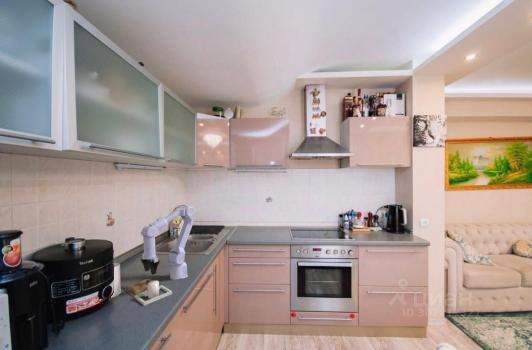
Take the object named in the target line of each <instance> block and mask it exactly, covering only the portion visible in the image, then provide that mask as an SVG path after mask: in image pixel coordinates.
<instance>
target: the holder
mask: <svg viewBox="0 0 532 350" xmlns="http://www.w3.org/2000/svg"><path fill="white" fill-rule="evenodd" d="M151 281H153V280H152V279H151V278H147V279H143V280H140V281H138V282H134V283H132V284H129V285H127V286H126V287H127V288H124V289H123V290H124V291H125V292H126V293H128V295H130V296H131V297H132V298H134V299H135V295H138V294H141V293H143V292H145V290H148V283H149V282H151Z"/></svg>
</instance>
